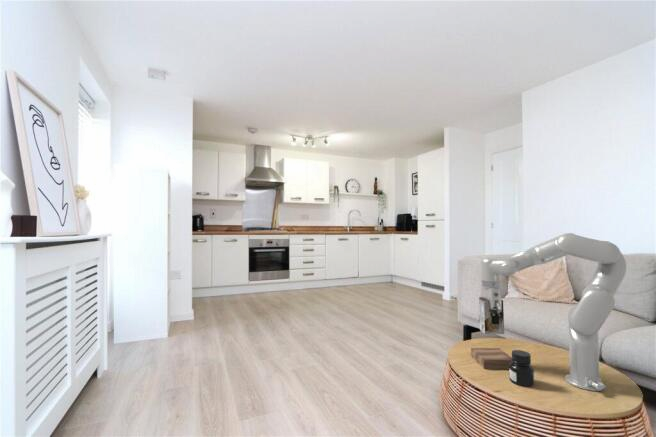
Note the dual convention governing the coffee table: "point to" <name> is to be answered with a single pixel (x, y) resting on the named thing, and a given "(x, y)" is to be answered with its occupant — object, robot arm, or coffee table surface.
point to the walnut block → (491, 358)
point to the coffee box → (490, 318)
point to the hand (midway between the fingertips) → (491, 321)
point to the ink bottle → (521, 369)
